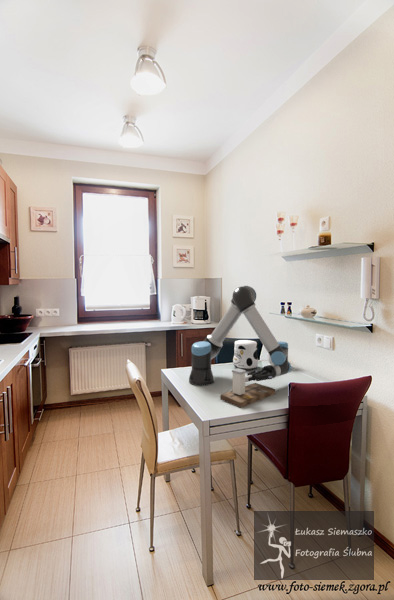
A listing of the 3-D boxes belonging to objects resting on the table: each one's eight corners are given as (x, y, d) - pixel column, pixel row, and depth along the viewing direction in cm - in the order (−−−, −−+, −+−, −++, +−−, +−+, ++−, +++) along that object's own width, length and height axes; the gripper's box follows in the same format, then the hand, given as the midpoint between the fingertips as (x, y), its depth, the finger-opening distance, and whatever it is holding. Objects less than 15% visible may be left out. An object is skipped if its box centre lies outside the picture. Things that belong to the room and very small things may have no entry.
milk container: (228, 368, 219) (228, 342, 218) (240, 362, 234) (240, 338, 232) (251, 372, 210) (251, 345, 208) (262, 366, 224) (262, 341, 222)
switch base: (255, 387, 182) (255, 382, 182) (275, 393, 172) (275, 389, 172) (220, 399, 164) (220, 394, 164) (240, 407, 154) (240, 402, 154)
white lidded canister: (237, 390, 169) (237, 368, 168) (245, 393, 164) (246, 370, 164) (231, 392, 166) (231, 369, 165) (239, 395, 161) (239, 372, 161)
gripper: (280, 380, 177) (252, 390, 162) (261, 375, 187) (233, 383, 172) (280, 367, 176) (252, 376, 161) (262, 362, 186) (234, 370, 171)
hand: (243, 380), depth 167 cm, fingers closed
